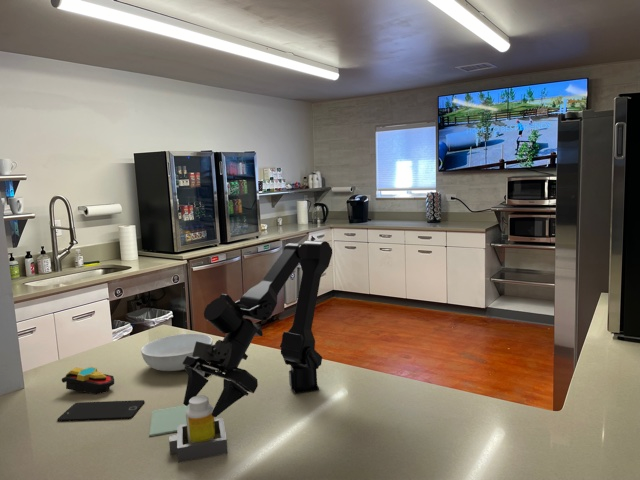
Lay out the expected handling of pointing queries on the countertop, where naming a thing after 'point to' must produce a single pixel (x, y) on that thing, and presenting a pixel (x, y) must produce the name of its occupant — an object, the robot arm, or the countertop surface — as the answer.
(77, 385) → the gadget
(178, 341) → the serving bowl
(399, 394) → the countertop surface
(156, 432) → the mat
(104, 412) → the cell phone
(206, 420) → the supplement bottle
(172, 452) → the collar
